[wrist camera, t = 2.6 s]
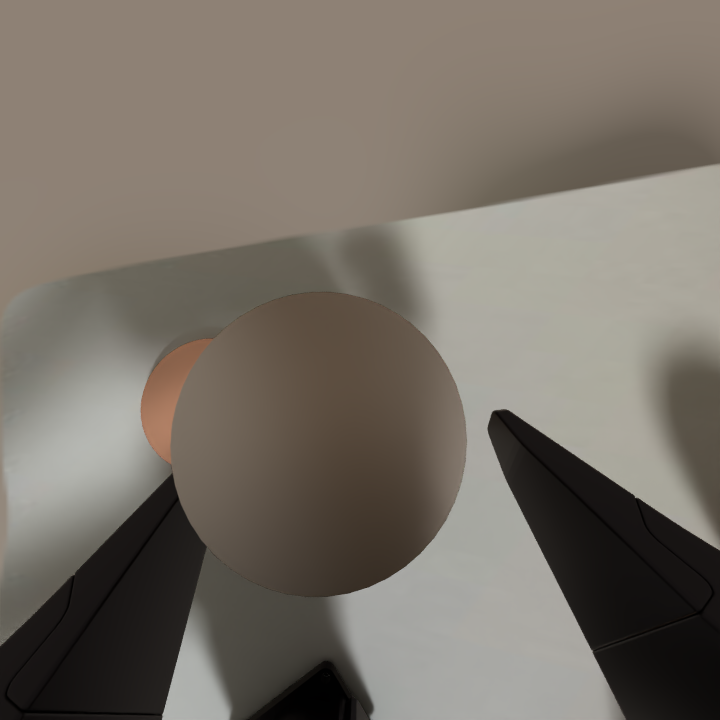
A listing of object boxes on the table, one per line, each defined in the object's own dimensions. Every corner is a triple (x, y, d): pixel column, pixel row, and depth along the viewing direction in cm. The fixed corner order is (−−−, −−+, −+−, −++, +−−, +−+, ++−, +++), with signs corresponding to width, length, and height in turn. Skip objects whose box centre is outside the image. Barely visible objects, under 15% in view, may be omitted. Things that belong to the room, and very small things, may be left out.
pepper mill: (339, 462, 17) (269, 677, 4) (295, 395, 17) (109, 393, 5) (405, 415, 17) (536, 475, 4) (360, 351, 18) (358, 233, 5)
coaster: (190, 496, 17) (182, 501, 16) (128, 386, 18) (117, 386, 17) (301, 419, 17) (299, 420, 16) (235, 317, 18) (229, 313, 17)
